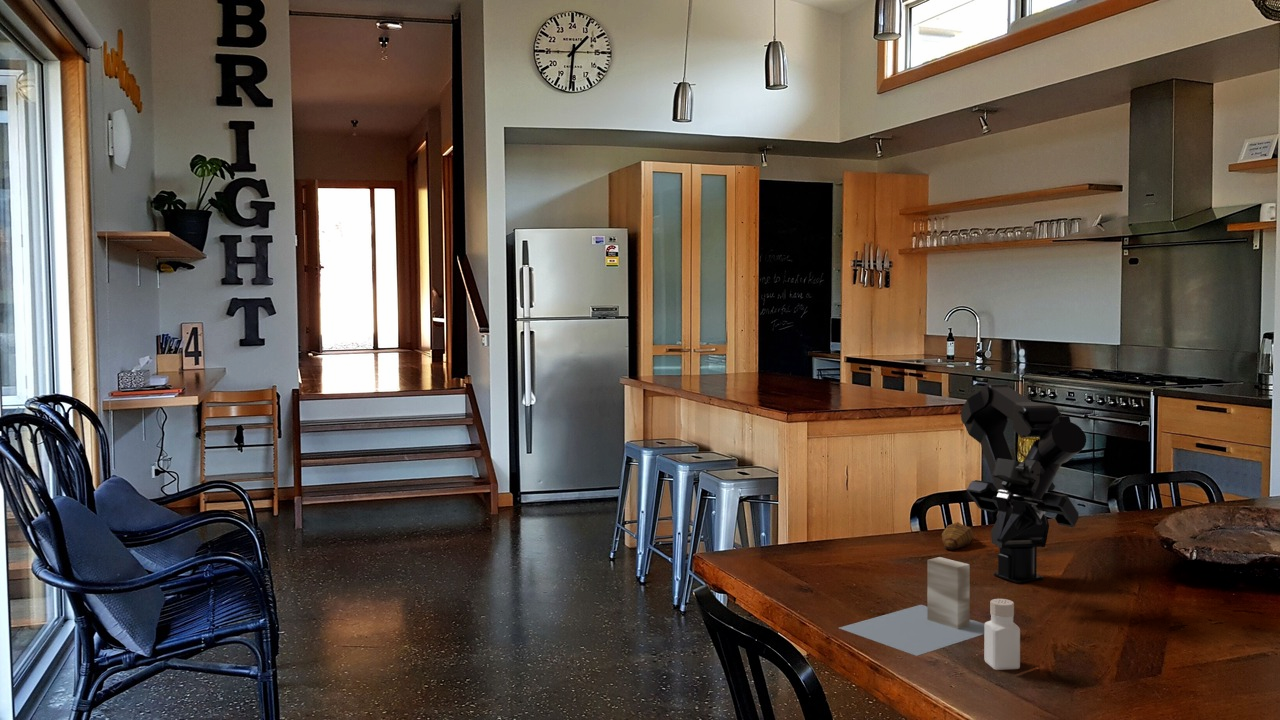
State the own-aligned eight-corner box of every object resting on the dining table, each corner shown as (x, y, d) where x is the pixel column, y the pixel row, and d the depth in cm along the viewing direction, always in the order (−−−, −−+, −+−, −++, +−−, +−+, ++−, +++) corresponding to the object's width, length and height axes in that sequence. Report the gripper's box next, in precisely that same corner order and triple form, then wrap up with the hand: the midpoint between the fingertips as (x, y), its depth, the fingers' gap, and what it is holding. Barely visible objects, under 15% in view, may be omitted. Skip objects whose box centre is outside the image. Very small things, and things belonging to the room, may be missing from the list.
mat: (920, 606, 175) (920, 604, 175) (1000, 630, 162) (1000, 628, 162) (838, 629, 164) (838, 627, 164) (916, 657, 150) (916, 655, 150)
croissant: (965, 554, 210) (965, 530, 210) (932, 550, 213) (932, 526, 213) (981, 540, 221) (981, 517, 221) (950, 536, 225) (950, 514, 225)
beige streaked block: (939, 616, 169) (939, 556, 168) (969, 625, 164) (969, 564, 163) (927, 619, 167) (927, 559, 166) (957, 629, 162) (957, 567, 161)
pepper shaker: (982, 662, 148) (982, 598, 148) (1009, 660, 149) (1009, 597, 148) (994, 672, 144) (994, 606, 144) (1021, 670, 145) (1021, 605, 144)
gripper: (973, 435, 181) (933, 504, 176) (1069, 447, 166) (1029, 523, 160) (999, 473, 186) (961, 542, 181) (1095, 488, 171) (1057, 564, 166)
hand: (999, 542), depth 172 cm, fingers closed
